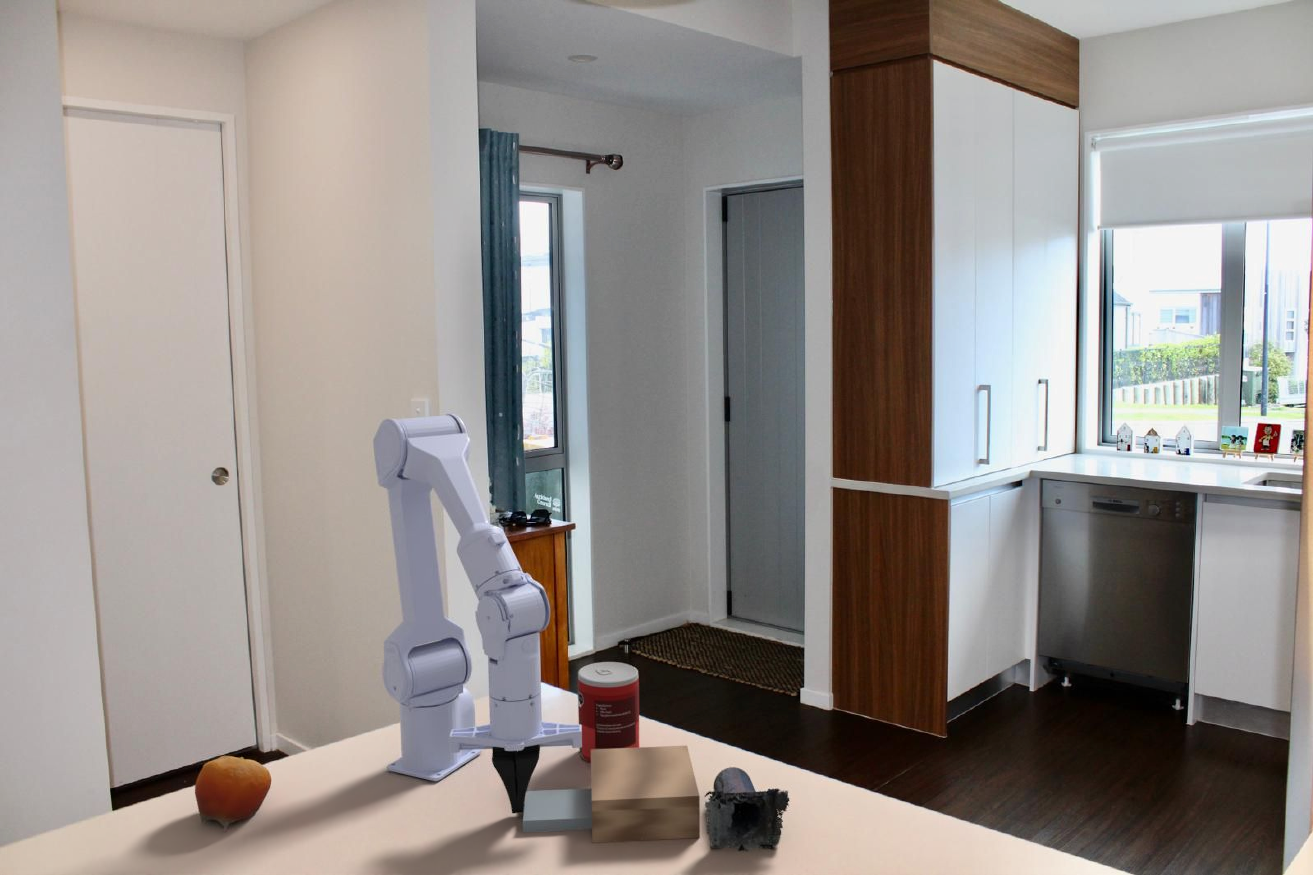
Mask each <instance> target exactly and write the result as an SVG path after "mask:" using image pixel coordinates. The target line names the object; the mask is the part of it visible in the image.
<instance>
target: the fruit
mask: <svg viewBox="0 0 1313 875" xmlns="http://www.w3.org/2000/svg"><path fill="white" fill-rule="evenodd" d="M271 785H272V776H271V773H270V771H269V769H267V767H266V766H264V765H263V764H262V763H260V762H257V761H256V760H253V759H250V758H249V759H245V758H244V757H243V756H241V757H235V756H231V755H221V756H220V757H217V758H216V759H212V760H211V761H208V762H205V763H204V764H203V765H202V769H201V770H200V772H199V774H198V775H197V778H196V781H195V787H194V794H195V800H196V805H197V809H198V814H199V816H200V820H201V823H203V822H206V821H208V820H209V821H210V820H215V821H217V822H219V823H220V825H222V826H223V832H224V833H226V832H227V828H228V827H229V825H230V824H232V823H234V822H236V821H240V820H246V819H248V818H250V817H252V816H253V815H255V814H256V813H257V812H258V811H259V810H260V808H261V807H262V804H263V802H264V801H265V800H266V797H267V795H268V793H269V791H270V789H271Z"/></svg>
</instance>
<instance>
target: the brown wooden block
mask: <svg viewBox="0 0 1313 875" xmlns="http://www.w3.org/2000/svg"><path fill="white" fill-rule="evenodd" d="M695 776H696V775H695V772H694V768H693V765H692V759H691V755H690V753H689V748H688V745H670V746H668V745H667V746H646V747H645V746H643V747H640V746H639V748H614V749H591V763H590V782H591V785H590V786H591V793H592V829H591V833H592V834H591V836H592V837H591V838H592V841H591V842H592V843H593V844H594V843H614V842H615V843H616V842H635V841H636V842H638V841H655V840H656V841H657V840H658V841H659V840H676V839H677V840H678V839H698V838H700V837H701V827H700V826H701V825H700V824H701V823H700V820H701V819H700V818H701V816H700V814H701V812H700V811H701V809H700V806H701V805H700V804H701V803H700V792H699V788H698V784H697V780H696V777H695Z"/></svg>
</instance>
